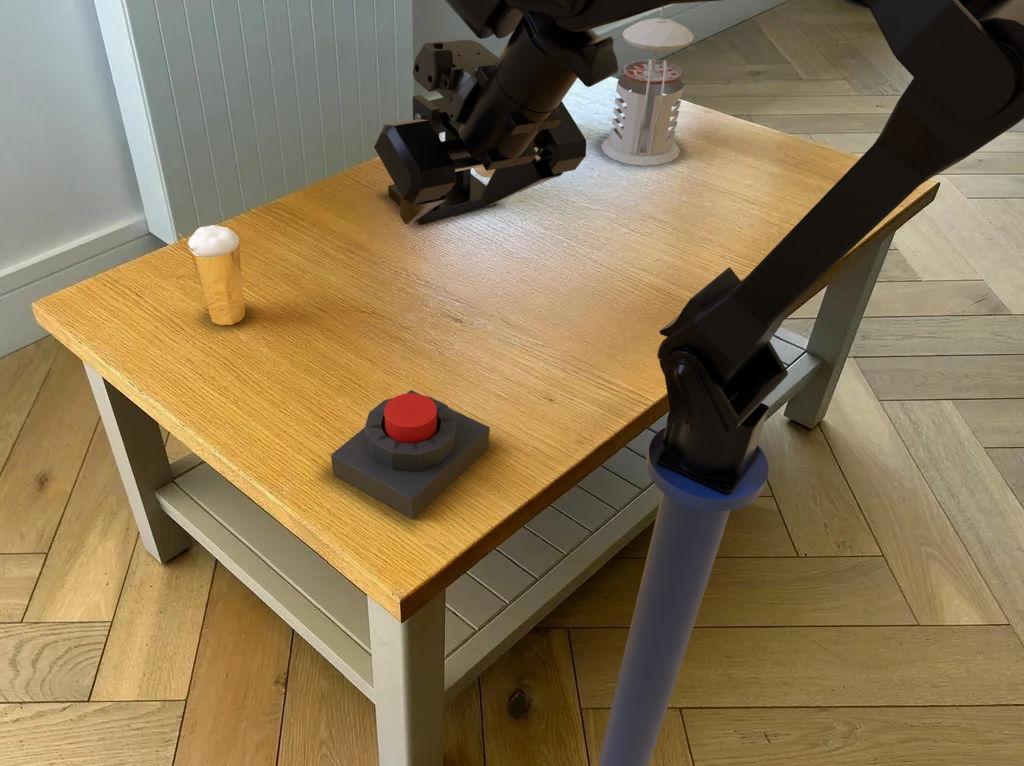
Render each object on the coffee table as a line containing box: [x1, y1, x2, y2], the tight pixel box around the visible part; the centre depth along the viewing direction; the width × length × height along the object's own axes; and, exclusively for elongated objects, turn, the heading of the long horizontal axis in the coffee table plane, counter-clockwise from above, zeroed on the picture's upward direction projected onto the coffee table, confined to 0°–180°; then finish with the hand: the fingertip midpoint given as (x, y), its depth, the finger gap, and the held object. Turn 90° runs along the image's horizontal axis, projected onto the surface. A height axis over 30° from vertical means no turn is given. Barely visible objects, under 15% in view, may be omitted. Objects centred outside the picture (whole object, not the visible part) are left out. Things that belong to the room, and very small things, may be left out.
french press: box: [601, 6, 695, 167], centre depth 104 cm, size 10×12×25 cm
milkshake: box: [177, 224, 246, 326], centre depth 83 cm, size 4×5×10 cm
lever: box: [429, 97, 495, 179], centre depth 94 cm, size 13×3×3 cm, turn 28°
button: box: [384, 393, 437, 444], centre depth 69 cm, size 4×4×2 cm
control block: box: [330, 389, 491, 520], centre depth 70 cm, size 8×10×4 cm
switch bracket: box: [387, 94, 498, 226], centre depth 100 cm, size 8×10×12 cm
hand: (445, 210), depth 81 cm, fingers open, 9 cm apart
